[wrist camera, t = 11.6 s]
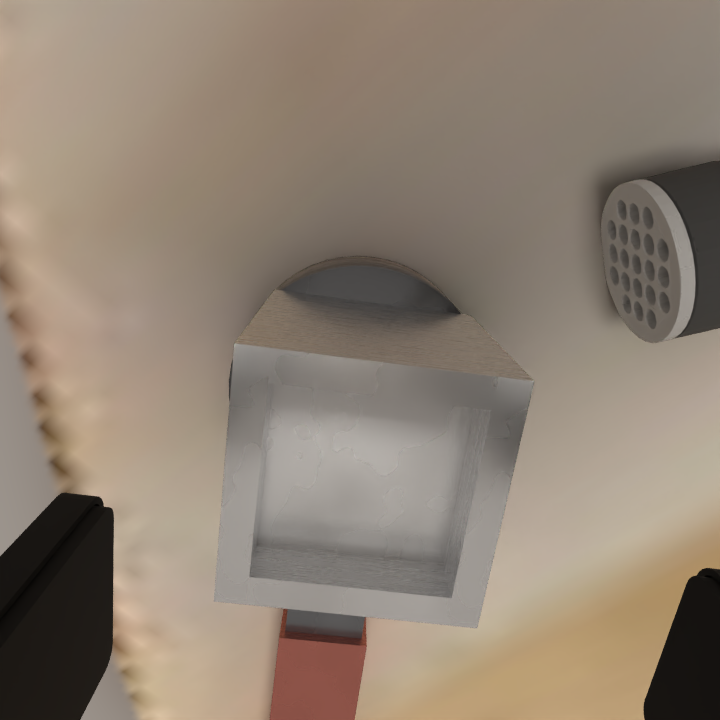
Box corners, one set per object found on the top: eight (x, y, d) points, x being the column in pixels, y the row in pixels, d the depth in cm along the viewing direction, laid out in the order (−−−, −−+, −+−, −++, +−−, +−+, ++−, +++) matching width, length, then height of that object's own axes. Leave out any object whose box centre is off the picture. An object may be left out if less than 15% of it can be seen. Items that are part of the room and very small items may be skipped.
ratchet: (395, 755, 29) (410, 927, 22) (212, 739, 28) (170, 910, 22) (490, 272, 22) (551, 309, 16) (253, 241, 22) (210, 264, 15)
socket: (274, 289, 19) (234, 343, 13) (471, 315, 20) (534, 381, 13) (257, 469, 21) (213, 601, 14) (437, 490, 21) (477, 628, 15)
